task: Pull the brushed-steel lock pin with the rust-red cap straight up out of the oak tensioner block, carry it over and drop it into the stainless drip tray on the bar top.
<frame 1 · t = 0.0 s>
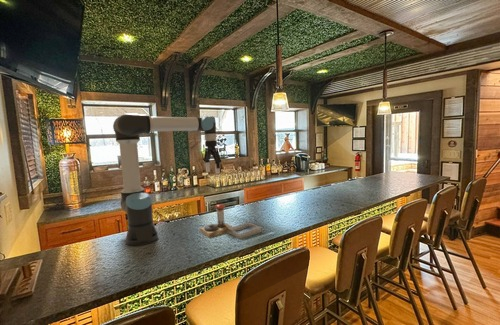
hand: (212, 172, 165), 28 cm above the counter, fingers open, 13 cm apart
drip tray: (244, 234, 129), on the counter
lock pin: (221, 229, 134), point 1 cm above the counter, touching tensioner block
tensioner block: (216, 233, 132), on the counter
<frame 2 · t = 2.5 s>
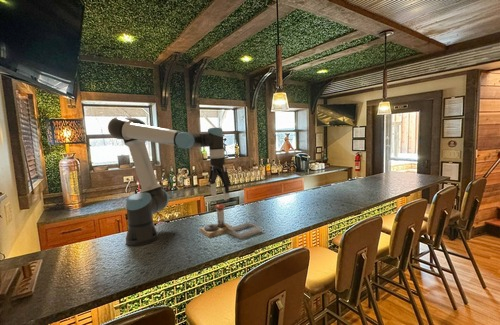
hand: (220, 197, 132), 19 cm above the counter, fingers open, 13 cm apart
nothing on the counter moved.
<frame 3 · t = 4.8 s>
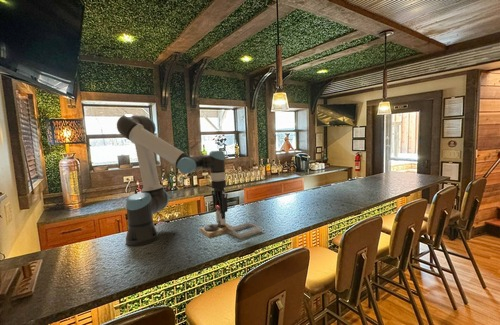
hand: (221, 223, 134), 5 cm above the counter, fingers closed on lock pin, 4 cm apart
lock pin: (221, 229, 134), point 1 cm above the counter, touching gripper, tensioner block
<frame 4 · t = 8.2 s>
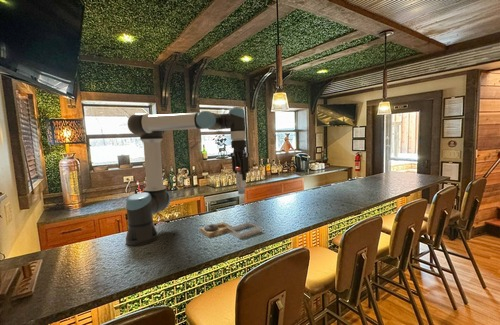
hand: (241, 186, 127), 25 cm above the counter, fingers closed on lock pin, 4 cm apart
lock pin: (241, 193, 127), point 21 cm above the counter, touching gripper
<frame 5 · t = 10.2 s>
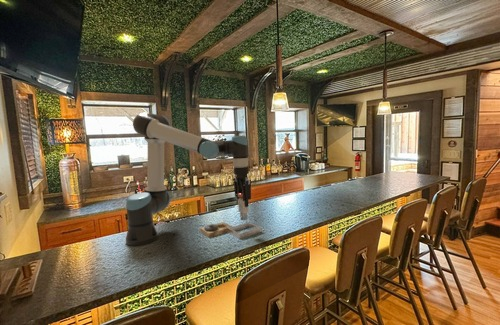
hand: (243, 211, 128), 12 cm above the counter, fingers closed on lock pin, 4 cm apart
lock pin: (244, 219, 128), point 8 cm above the counter, touching gripper
when the fingers open (6 cm above the counter, at t = 11.9 s): lock pin drops 1 cm, resting on drip tray.
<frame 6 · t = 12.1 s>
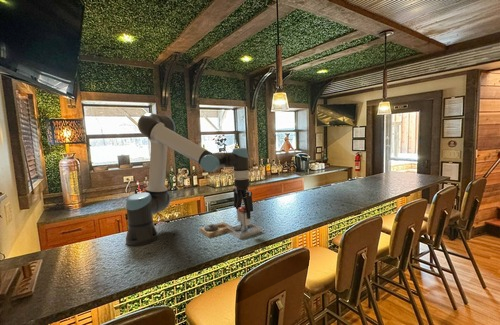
hand: (243, 222, 128), 6 cm above the counter, fingers open, 7 cm apart
lock pin: (244, 232, 129), point 1 cm above the counter, touching drip tray
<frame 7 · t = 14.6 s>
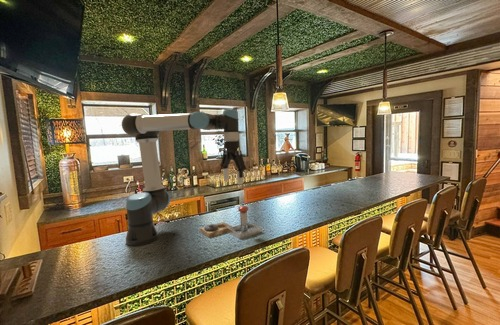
hand: (233, 182, 128), 27 cm above the counter, fingers open, 13 cm apart
nothing on the counter moved.
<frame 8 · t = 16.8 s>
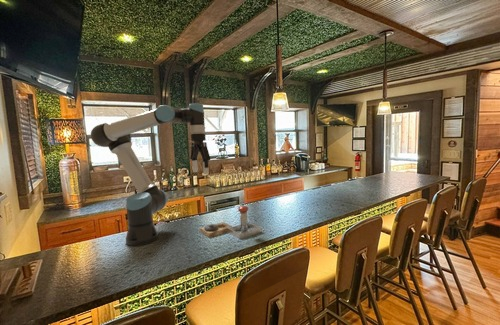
hand: (200, 173, 135), 32 cm above the counter, fingers open, 13 cm apart
nothing on the counter moved.
at the end: lock pin inside the target area on the drip tray (0.1 cm from its centre), point 0.6 cm above the drip tray's base; lock pin moved 13.5 cm from its start; the gripper is holding nothing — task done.
